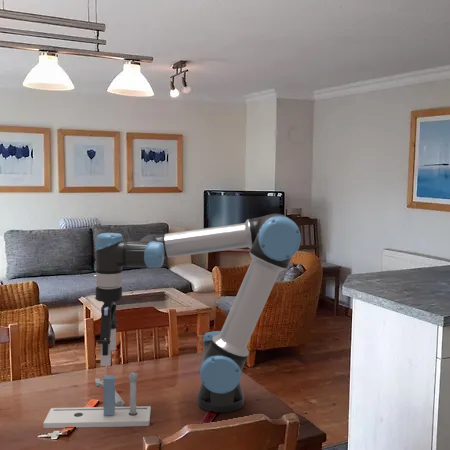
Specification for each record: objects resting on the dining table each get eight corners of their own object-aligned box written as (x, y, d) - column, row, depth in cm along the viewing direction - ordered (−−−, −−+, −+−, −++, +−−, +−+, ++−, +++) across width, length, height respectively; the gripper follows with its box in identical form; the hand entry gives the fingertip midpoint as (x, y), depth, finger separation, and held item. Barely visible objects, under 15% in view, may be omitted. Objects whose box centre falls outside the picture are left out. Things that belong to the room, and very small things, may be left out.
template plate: (150, 410, 170) (151, 366, 169) (149, 425, 161) (149, 378, 159) (51, 412, 168) (50, 367, 166) (43, 428, 158) (42, 380, 156)
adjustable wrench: (125, 408, 173) (125, 403, 173) (105, 411, 171) (105, 406, 171) (111, 379, 196) (111, 374, 196) (93, 381, 194) (92, 376, 194)
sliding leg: (114, 410, 166) (114, 375, 165) (113, 415, 163) (113, 378, 162) (104, 410, 166) (104, 375, 164) (103, 415, 163) (103, 379, 162)
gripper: (101, 277, 172) (101, 343, 175) (89, 296, 148) (88, 373, 150) (125, 278, 173) (125, 343, 175) (117, 296, 148) (116, 372, 151)
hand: (108, 357), depth 163 cm, fingers open, 13 cm apart
